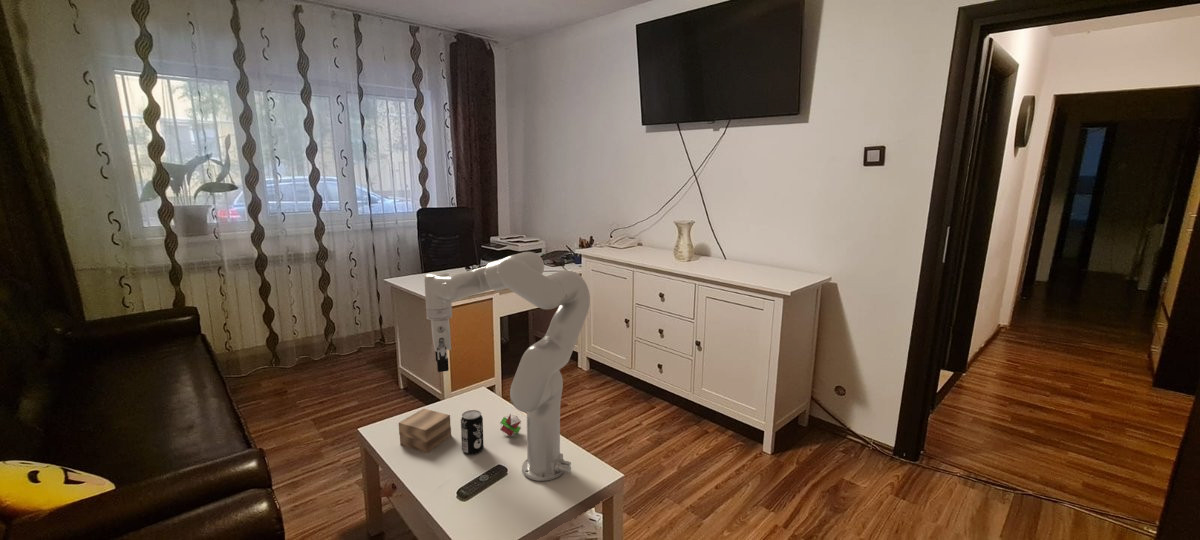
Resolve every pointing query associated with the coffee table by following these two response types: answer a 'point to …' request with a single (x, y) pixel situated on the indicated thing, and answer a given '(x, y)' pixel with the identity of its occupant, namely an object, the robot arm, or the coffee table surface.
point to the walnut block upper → (424, 425)
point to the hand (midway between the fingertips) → (442, 365)
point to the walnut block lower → (425, 445)
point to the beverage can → (472, 432)
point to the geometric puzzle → (510, 425)
